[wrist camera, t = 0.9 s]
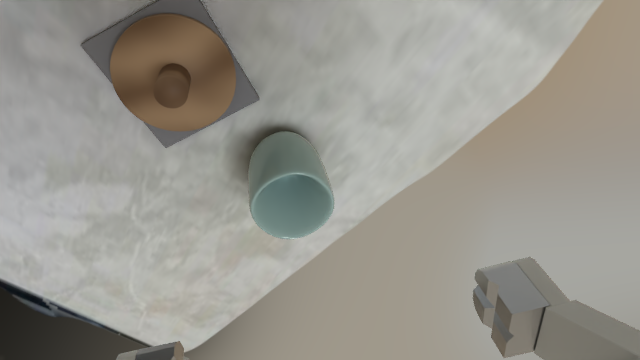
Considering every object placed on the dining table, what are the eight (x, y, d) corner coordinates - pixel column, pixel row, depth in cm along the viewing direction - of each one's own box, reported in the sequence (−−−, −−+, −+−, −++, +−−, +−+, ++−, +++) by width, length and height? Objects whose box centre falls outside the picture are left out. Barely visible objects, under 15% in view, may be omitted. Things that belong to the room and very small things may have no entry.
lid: (84, 50, 38) (69, 68, 35) (192, -11, 37) (188, 1, 33) (162, 144, 45) (156, 168, 41) (256, 95, 43) (259, 115, 40)
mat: (82, 43, 39) (80, 45, 38) (189, -18, 37) (188, -16, 37) (166, 145, 45) (165, 148, 45) (259, 97, 44) (259, 99, 44)
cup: (330, 155, 50) (350, 208, 41) (277, 193, 51) (286, 252, 43) (288, 107, 45) (300, 156, 37) (231, 150, 47) (232, 206, 39)
